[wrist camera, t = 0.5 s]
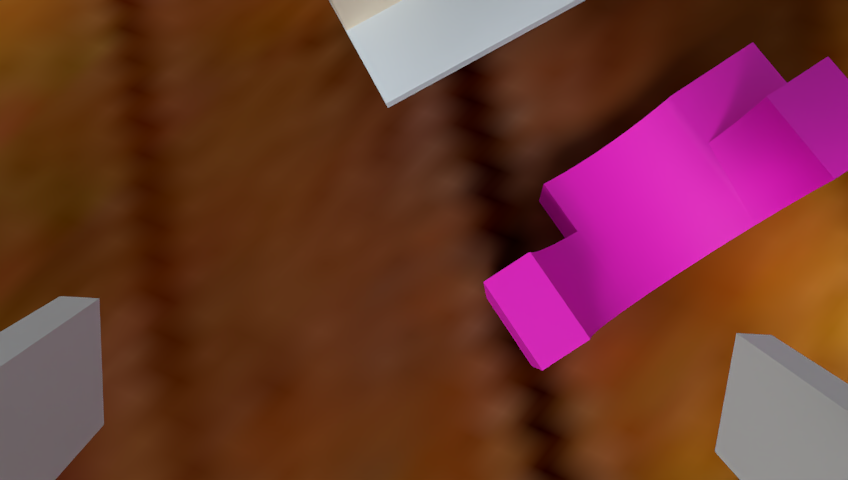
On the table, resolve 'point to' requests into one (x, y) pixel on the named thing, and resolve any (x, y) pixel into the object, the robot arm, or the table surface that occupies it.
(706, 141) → the toy block
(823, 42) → the table surface
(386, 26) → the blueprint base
